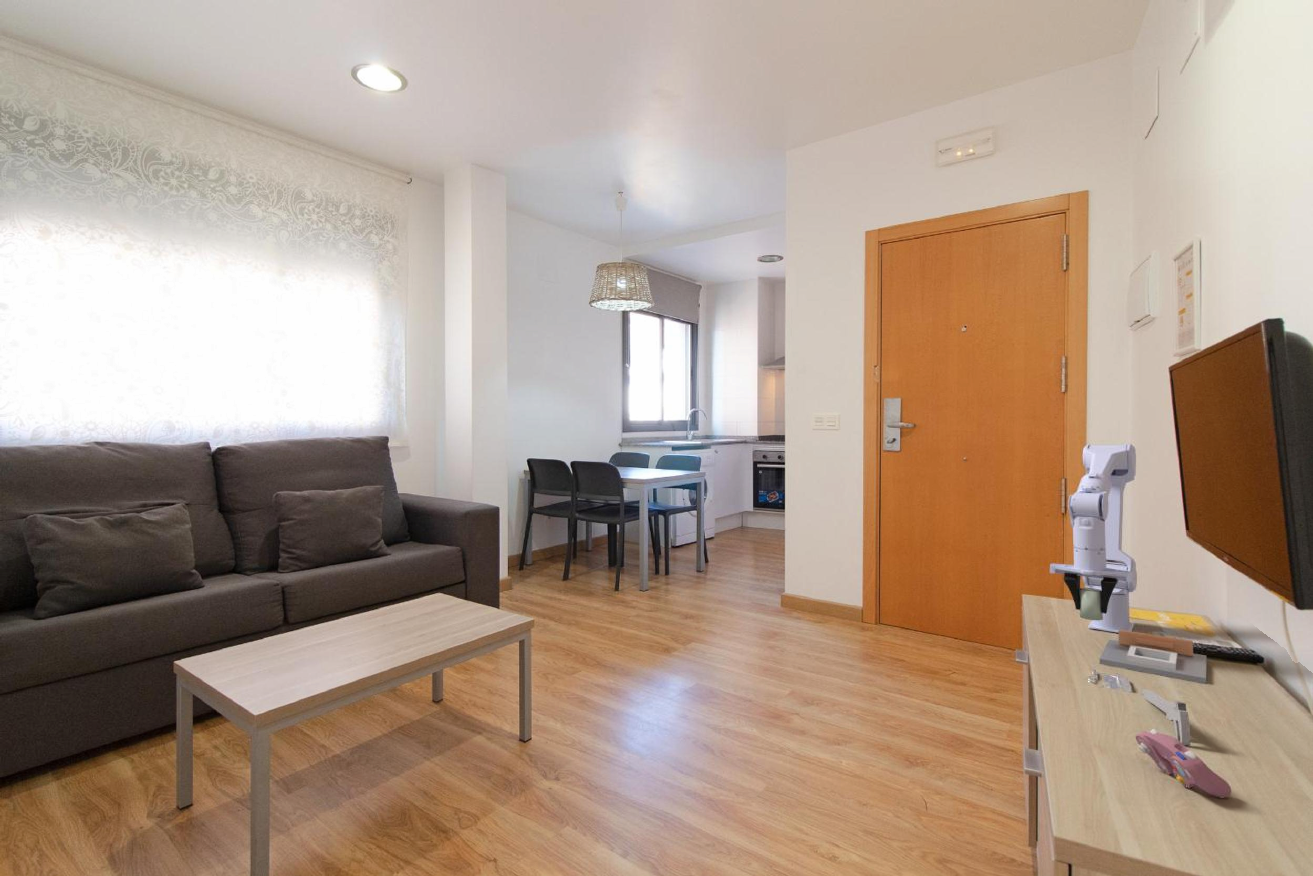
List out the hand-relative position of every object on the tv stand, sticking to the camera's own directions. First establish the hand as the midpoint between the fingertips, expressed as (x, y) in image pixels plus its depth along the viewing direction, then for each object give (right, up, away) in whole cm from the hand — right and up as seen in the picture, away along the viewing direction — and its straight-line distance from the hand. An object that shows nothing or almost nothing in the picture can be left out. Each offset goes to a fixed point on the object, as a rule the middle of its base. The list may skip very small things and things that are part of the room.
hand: (1091, 610), depth 131 cm
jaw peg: (0, -2, 0) cm, 2 cm away
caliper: (-11, -9, -31) cm, 34 cm away
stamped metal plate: (-9, -9, -16) cm, 21 cm away
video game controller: (-23, -9, -49) cm, 55 cm away
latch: (+10, -7, -4) cm, 13 cm away
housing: (+7, -8, -8) cm, 13 cm away
